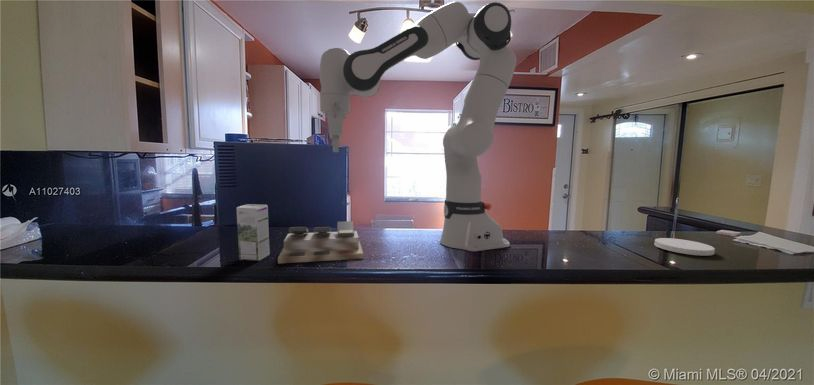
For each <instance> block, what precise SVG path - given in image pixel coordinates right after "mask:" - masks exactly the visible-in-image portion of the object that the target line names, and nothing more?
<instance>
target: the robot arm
mask: <svg viewBox="0 0 814 385" xmlns="http://www.w3.org/2000/svg"><path fill="white" fill-rule="evenodd" d="M511 28H512V15H511V12H510V10H509V9H508V7H507V6H506V5H504V4H503V3H501V2H496V1H493V2H490V3H487V4H486V5H484V6H482V7H481V8H480V9H479V10H477V12H476V14H475V15H473V14H471V13H470V12H469V10H468V8H467V7H466V6H465V5H464V4H463V3H462V2H460V1H452V2H449V3H447V4H444V5H442V6H440V7H438V8H436V9H434V10H433V11H431V12H428V13H427V14H426V15H425V16H423V17H421V18H420V19H418V20H417V21H416V22H415V23H414V24H412V25H411V26H409V27H408V28H407V29H406V30H403V31H401V32H400V33H398V34H397V35H395V36H393V37H391V38H389V39H388V40H385V42H382V43H381V44H379V45H377V46H374V47H373V48H370V49H369V48H368V49H362V50H357V51H354V52H352V53H349V52H348V51H347V50H346V49H344V48H341V47H340V48H339V47H333V48H329V49H327V50H325V51H324V52H323V53H322V54H321V57H320V64H319V83H320V87H321V88H320V92H319V104H320V105H319V106H320V107H319V110H320V112H321V113H323V114H324V118H326V119H327V125H328V135H329V137H330V139H331V140H332V141H331V142H332V144H331V145H332V152H333V153H339V151H340V149H339V148H340V139H342V136H343V124H344V120H345V119H346V118H347V115H348V114H350V113H351V95H354V96H358V97H361V98H369V97H373V96H374V95H376V94H377V93H378V92H379V89H380V87H381V82H382V81H381V79H382V77H383V75H384V73H386V72H387V71H388V70H389V69H391V68H392V67H394V66H396V65H398V64H400V63H401V62H403V61H405V60H406V59H408V58H410V57H413V56H415V57H418V58H420V59H424V60H428V59H430V58H433V57H434V56H437V55H438V54H440V53H442V52H443V51H445V50H446V49H448V48H449V47H451V46H453V45H454V44H455V46H456V47H457V48H458V49H459V50H460V51H461V52H462V54H463V55H464V56H465V58H467V59H469V60H470V61H471V60H472V61H479V66H478V69H477V71H476V72H475V75H474V77H473V80H472V82H471V84H470V86H469V88H468V91H467V93H466V95H465V97H464V101H463V106H462V111H461V114H460V117H459V120H458V122H457V124H455V125H452V126H451V127H450V128H448V129H447V130H446V132H445V134H444V136H443V138H442V145H443V152H444V153H443V155H444V164H445V171H446V172H445V173H446V174H445V175H446V184H445V185H446V187H445V188H446V189H445V190H446V191H445V200H444V205H443V216H444V220H443V221H444V222H443V228H442V233H441V235H440V239H439V243H440V244H441V245H443V246H445V247H448V248H451V249H452V248H453V249H459V250H464V251H469V252H479V251H487V250H495V249H503V248H509V247H510V244H511V243H510V241H509V240H508V239H507V238H505V237H504V236H503V234H504V233H503V229H502V226H501V225H500V224H499V222H498V221H496V220H494V219H493V218H492V217H491V215H489V214H488V213H486V210H487V211H490V210H491V209H492V206H493V205H492V204H491V203H489V202H483V201H481V200H482V199H481V198H482V196H481V195H482V174H481V172H480V169H479V162H478V157H481V155H484V154H486V152H488V151H489V149H490V148H491V146H492V145H493V141H494V135H493V131H494V128H495V123H496V119H497V115H498V112H499V110H500V107H501V106H502V104H503V101H504V99H505V96H506V94H507V91H508V89H509V87H510V85H511V83H512V82H511V81H512V79H513V76H514V73H515V70H516V65H517V56H516V54H515V53H514V51H513V50H511V49H510V48H508V47H507V46H508V44H509V43H510V42H511V39H512V36H511V35H512V34H511Z"/></svg>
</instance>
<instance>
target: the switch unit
mask: <svg viewBox="0 0 814 385" xmlns="http://www.w3.org/2000/svg"><path fill="white" fill-rule="evenodd" d="M361 244H362V243H361V241H360V240H359V235H358V231H357V230H354V236H351V237H338V231H328V232H309V233H295V234H291V233H287V235H286V236H285V238H284V240H283V248H282V250H281V251H280V254H279V256H277V264H293V263H295V264H297V263H309V262H325V261H326V262H327V261H328V262H329V261H342V260H343V261H345V260H346V261H347V260H358V259H359V260H360V259H364V251H363V248H362V245H361Z"/></svg>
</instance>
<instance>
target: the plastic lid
mask: <svg viewBox="0 0 814 385" xmlns="http://www.w3.org/2000/svg"><path fill="white" fill-rule="evenodd" d="M654 246H655V247H657V248H660V249H662V250H666V251H669V252H673V253H674V252H675V253H678V254H683V255H684V254H685V255H692V256H699V257H701V256H707V257H708V256H713V255H715V250H716V248H715V247H713V246H712V245H709V244H706V243H703V242H699V241H694V240H688V239H681V238H671V237H670V238H669V237H659V238H655V239H654Z"/></svg>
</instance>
